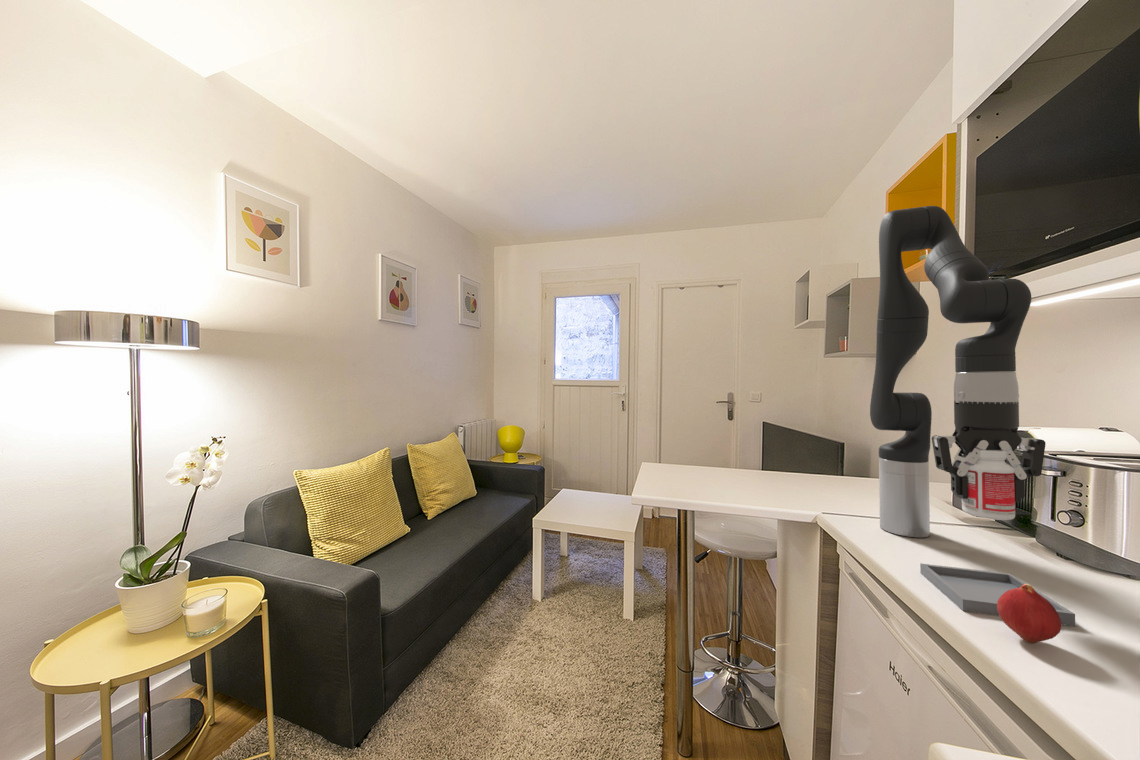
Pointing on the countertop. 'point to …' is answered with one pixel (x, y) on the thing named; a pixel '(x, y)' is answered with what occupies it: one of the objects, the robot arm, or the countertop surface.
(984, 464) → the pill bottle
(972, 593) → the slate dish
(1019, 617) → the onion
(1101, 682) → the countertop surface
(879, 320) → the robot arm
